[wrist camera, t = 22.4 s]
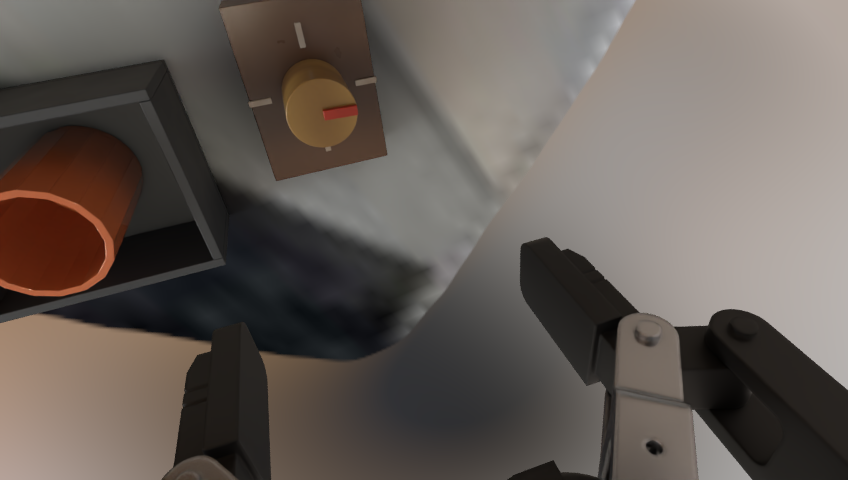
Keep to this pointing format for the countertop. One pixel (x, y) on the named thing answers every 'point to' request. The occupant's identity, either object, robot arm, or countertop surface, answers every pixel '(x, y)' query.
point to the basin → (161, 164)
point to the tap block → (289, 44)
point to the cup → (66, 210)
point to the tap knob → (318, 103)
